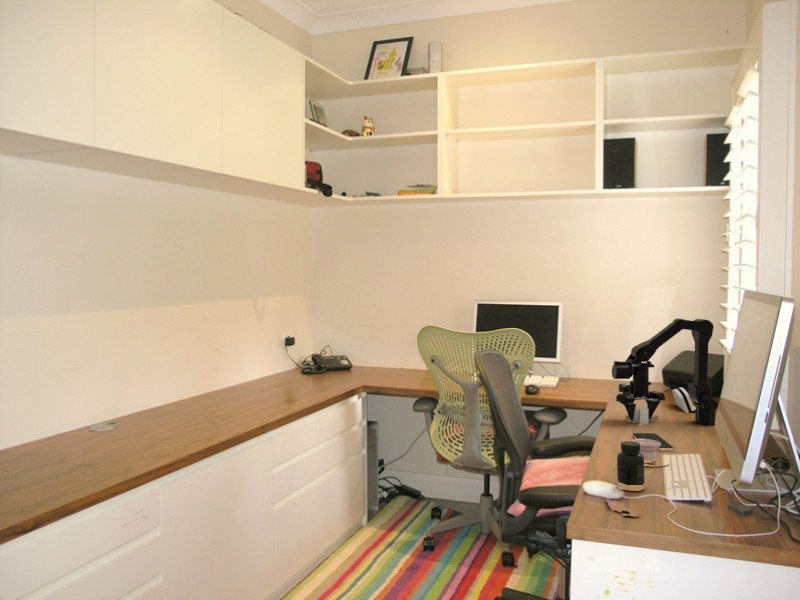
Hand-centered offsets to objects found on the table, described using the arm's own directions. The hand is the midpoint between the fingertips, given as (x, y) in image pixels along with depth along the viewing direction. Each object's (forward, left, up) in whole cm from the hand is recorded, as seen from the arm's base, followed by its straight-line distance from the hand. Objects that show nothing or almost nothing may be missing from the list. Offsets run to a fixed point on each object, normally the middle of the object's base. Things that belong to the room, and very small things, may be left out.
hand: (640, 419), depth 244 cm
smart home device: (-25, +17, -2) cm, 31 cm away
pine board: (+4, -4, -2) cm, 6 cm away
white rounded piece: (+16, -37, -2) cm, 40 cm away
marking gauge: (+2, 0, -2) cm, 3 cm away
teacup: (-42, +34, -2) cm, 54 cm away
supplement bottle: (-60, +56, -2) cm, 82 cm away
